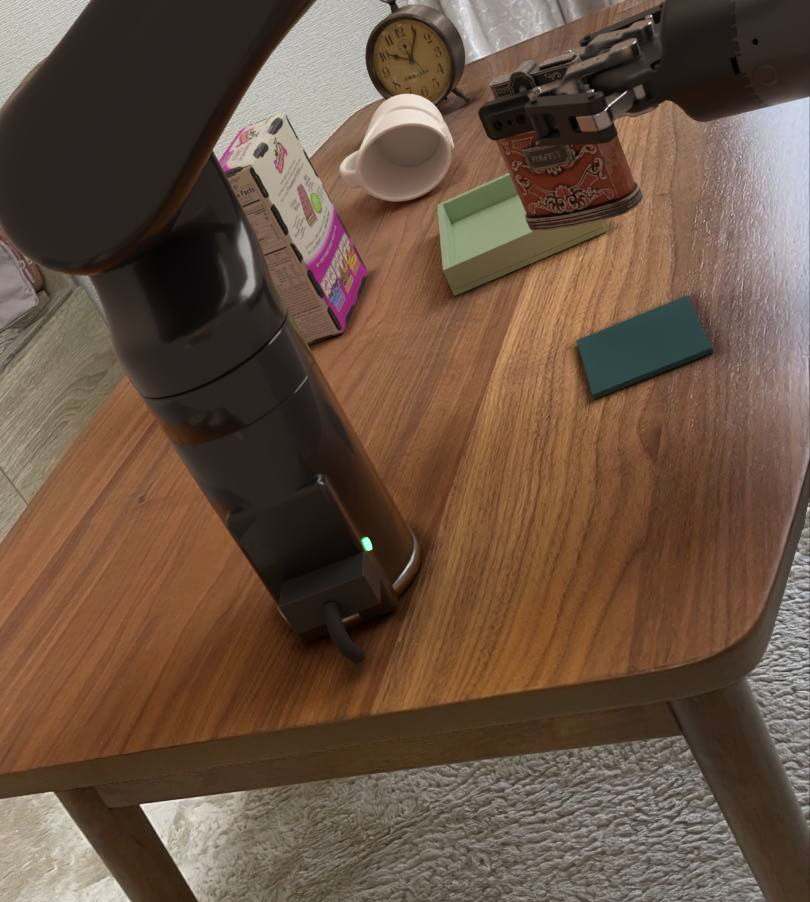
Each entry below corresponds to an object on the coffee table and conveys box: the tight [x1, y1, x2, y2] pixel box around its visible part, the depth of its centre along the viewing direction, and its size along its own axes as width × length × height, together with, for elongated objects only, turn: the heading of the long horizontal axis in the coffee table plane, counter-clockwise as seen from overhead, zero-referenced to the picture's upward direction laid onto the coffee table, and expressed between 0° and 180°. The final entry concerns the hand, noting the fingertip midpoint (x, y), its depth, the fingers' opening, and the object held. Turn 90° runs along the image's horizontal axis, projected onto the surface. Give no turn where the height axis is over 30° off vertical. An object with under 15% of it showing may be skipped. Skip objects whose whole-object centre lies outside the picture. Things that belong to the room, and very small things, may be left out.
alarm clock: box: [364, 0, 471, 107], centre depth 141 cm, size 11×5×16 cm, turn 67°
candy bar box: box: [218, 111, 369, 346], centre depth 106 cm, size 11×5×16 cm, turn 168°
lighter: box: [488, 52, 644, 231], centre depth 76 cm, size 8×3×10 cm, turn 59°
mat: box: [576, 295, 715, 400], centre depth 82 cm, size 8×8×1 cm
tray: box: [436, 172, 607, 297], centre depth 106 cm, size 15×13×2 cm
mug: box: [338, 94, 455, 203], centre depth 126 cm, size 12×9×8 cm
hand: (499, 107), depth 77 cm, fingers closed on lighter, 3 cm apart
